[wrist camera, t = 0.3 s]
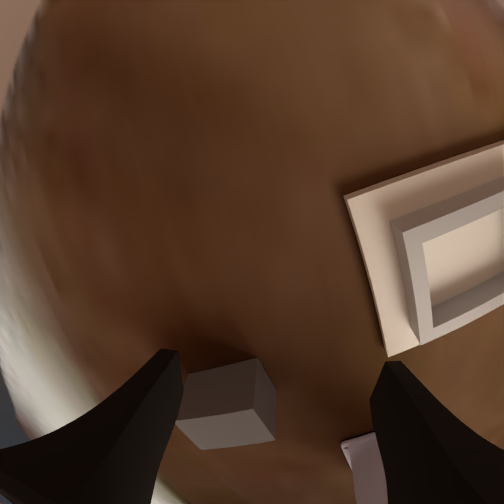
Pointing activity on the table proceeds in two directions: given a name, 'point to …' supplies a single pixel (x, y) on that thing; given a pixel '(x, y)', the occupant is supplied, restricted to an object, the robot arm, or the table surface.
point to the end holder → (433, 245)
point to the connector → (229, 406)
